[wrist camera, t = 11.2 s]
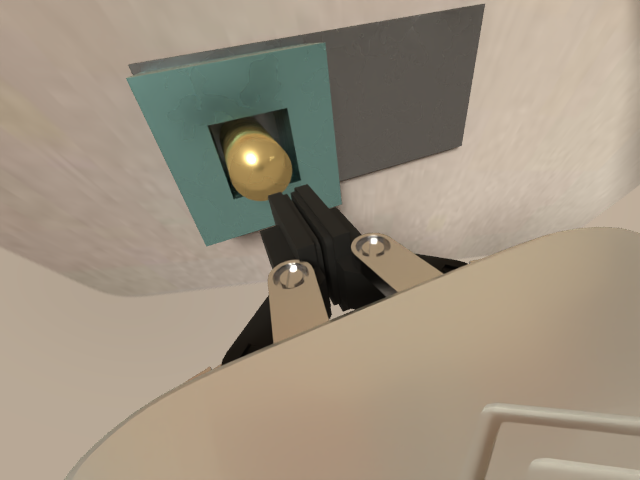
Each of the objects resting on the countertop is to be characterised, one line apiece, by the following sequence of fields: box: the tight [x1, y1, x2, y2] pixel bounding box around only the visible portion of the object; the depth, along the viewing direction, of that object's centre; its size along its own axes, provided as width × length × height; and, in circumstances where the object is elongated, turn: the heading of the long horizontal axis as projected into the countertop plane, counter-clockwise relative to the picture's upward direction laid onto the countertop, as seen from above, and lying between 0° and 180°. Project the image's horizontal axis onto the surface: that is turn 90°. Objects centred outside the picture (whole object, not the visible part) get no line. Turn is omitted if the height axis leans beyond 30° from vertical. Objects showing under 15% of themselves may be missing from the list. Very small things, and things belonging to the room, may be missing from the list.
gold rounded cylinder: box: [219, 116, 292, 201], centre depth 19 cm, size 4×4×8 cm
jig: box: [126, 4, 485, 246], centre depth 23 cm, size 28×12×6 cm, turn 98°
